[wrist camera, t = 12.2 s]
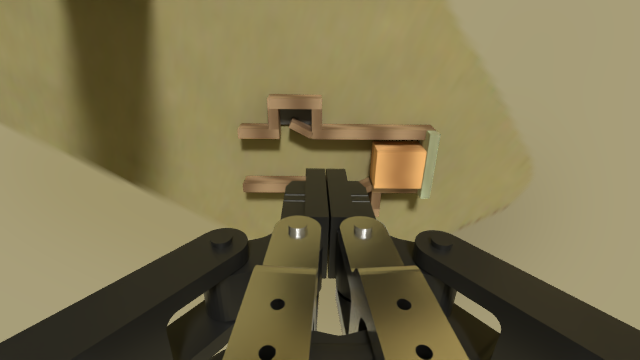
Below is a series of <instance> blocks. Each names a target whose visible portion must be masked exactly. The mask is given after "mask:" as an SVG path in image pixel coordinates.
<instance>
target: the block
mask: <svg viewBox="0 0 640 360" xmlns="http://www.w3.org/2000/svg"><path fill="white" fill-rule="evenodd" d="M426 154H427V151H426V150H425V149H424V148H423V147H422V146H421V144H420V143H419V142H406V141H373V143H372V155H371V167H370V178H371V181H372V184H373V186H374V188H395V189H421V185H422V179H423V173H424V167H425V161H426Z"/></svg>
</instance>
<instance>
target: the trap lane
mask: <svg viewBox="0 0 640 360" xmlns="http://www.w3.org/2000/svg"><path fill="white" fill-rule="evenodd" d="M267 106H268V124H251V123H242V124H241V125H240V126H239V128H238V129H237V130H238V139H279V138H280V135H281V124H289V128H291V129H292V130H294V131H296V132H298V133H300V134H302V135H304V136H306V137H308V138H311V137H312V139H358V140H419V141H418V142H419V143H420V144H421V146H422V147H423V148H424V149H425V150H426V151H427V154H426V161H425V167H424V173H423V179H422V185H421V189H395V188H374V186H373V184H372V181H371V178H370V179H369V177H368V178H365V179H363V180H361V181H359V182H360V183H361V184H362V185H363V186H364V187H366V190H367V193H368V196H369V199H370V202H371V205H372V209H373V212H374V215H375V217H379V208H380V198H381V193H417V194H418V196H419V197H420V199H430V193H431V187H432V181H433V176H434V170H435V164H436V158H437V153H438V147H439V141H440V135H441V134H440V133H439V132H437V131H436V130H435V129H434V128H433V127H432V126H431V125H377V124H322V95H287V94H270V95H269V96H268V98H267ZM310 125H312V126H310ZM291 181H306V176H246V178H245V180H244V183H243V190H244V192H285V188H286V186H287V185H288V184H289V183H290V182H291Z"/></svg>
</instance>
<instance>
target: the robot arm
mask: <svg viewBox="0 0 640 360" xmlns="http://www.w3.org/2000/svg"><path fill="white" fill-rule="evenodd" d="M327 266H328V278H336V303H337V309H338V314H339V319H340V324H341V330H342V336H337V335H332V334H327V333H322V332H318V331H317V317H318V302H319V291H320V290H321V282H322V278H326V273H327ZM457 291H458V292H460V293H461V294H463V295H464V296H466V297H467V298H469V299H471V300H472V301H474V302H476V303H477V304H479V305H480V306H482V307H483V308H485V309H487V310H488V311H490V312H491V313H493V315H495V317H496V318H497V319H498V321H499V322H500V325H501V333H498V332H497V331H495V330H494V329H492V328H490V327H489V326H488V325H486V324H485V323H483V322H482V321H480V320H479V319H477V318H475V317H474V316H473V315H471V314H469V313H468V312H466V311H465V310H464V309H462V308H461V307H459V306H458V305H456V304H455V303H454V300H455V296H456V292H457ZM203 293H204V297H205V300H204V301H203V302H201V303H200V304H198V305H197V306H195V307H194V308H193V309H191V310H190V311H188V312H187V313H185V314H184V315H183V316H181V317H180V318H178V319H177V320H176V321H174V322H173V323H171V324H170V325H169V326H167V324H168V322H169V320H170V318H171V317H172V316H173V315H174V314H175V313H176V312H177V311H178V310H180V309H181V308H183V307H184V306H186V305H187V304H189V303H190V302H191V301H193V300H194V299H196V298H197V297H198V296H200V295H201V294H203ZM227 343H228V345H227V348H226V349H225V350H223V351H221V352H220V353H218V354H216V353H217V352H218V351H219V350H221V349H222V348H223V347H224V346H225V345H226V344H227ZM215 354H216V355H215ZM214 355H215V356H214ZM212 356H213V357H212ZM0 360H640V330H638V329H636V328H634V327H632V326H630V325H628V324H626V323H624V322H622V321H620V320H618V319H616V318H614V317H612V316H610V315H608V314H606V313H605V312H602V311H601V310H598V309H597V308H595V307H593V306H591V305H589V304H587V303H585V302H583V301H581V300H579V299H577V298H575V297H573V296H571V295H569V294H567V293H565V292H563V291H561V290H560V289H558V288H556V287H554V286H552V285H550V284H548V283H546V282H544V281H542V280H540V279H538V278H536V277H534V276H532V275H530V274H528V273H526V272H524V271H522V270H520V269H518V268H516V267H514V266H513V265H510V264H509V263H507V262H505V261H502V260H501V259H499V258H497V257H495V256H493V255H491V254H489V253H487V252H485V251H483V250H481V249H479V248H477V247H475V246H473V245H471V244H469V243H468V242H466V241H463V240H462V239H460V238H458V237H456V236H454V235H452V234H449V233H446V232H442V231H435V230H429V231H424V232H421V233H419V234H418V235H417V236H416V239H415V242H411V241H406V240H401V239H397V238H395V237H392V236H390V235H389V233H388V231H387V229H386V227H385V226H384V225H383V223H381V222H380V221H378V220H376V218H375V215H374V212H373V209H372V205H371V202H370V199H369V196H368V193H367V190H366V187H364V186H363V185H362V184H361V183H360V182H358V181H347V176H346V172H345V169H326V175H325V169H308V168H306V181H291V182H290V183H289V184H288V185H287V186H286V188H285V195H284V201H283V208H282V214H281V220H280V221H278V222H277V223H276V225H275V227H274V230H273V233H272V234H270V235H268V236H266V237H263V238H259V239H254V240H249V241H248V239H247V236H246V234H245V233H244V232H242V231H240V230H237V229H233V228H221V229H216V230H213V231H210V232H208V233H206V234H204V235H202V236H200V237H198V238H197V239H194V240H193V241H191V242H189V243H187V244H185V245H183V246H181V247H179V248H177V249H176V250H174V251H172V252H170V253H168V254H166V255H164V256H162V257H161V258H159V259H157V260H155V261H153V262H152V263H149V264H147V265H146V266H144V267H142V268H140V269H138V270H136V271H134V272H132V273H131V274H129V275H127V276H125V277H123V278H121V279H119V280H117V281H116V282H114V283H112V284H110V285H108V286H106V287H105V288H102V289H101V290H99V291H97V292H95V293H93V294H91V295H89V296H87V297H86V298H84V299H82V300H80V301H78V302H76V303H74V304H72V305H71V306H69V307H67V308H65V309H63V310H61V311H59V312H57V313H56V314H54V315H52V316H50V317H48V318H46V319H44V320H42V321H41V322H39V323H37V324H35V325H33V326H31V327H29V328H27V329H26V330H24V331H22V332H20V333H18V334H16V335H14V336H13V337H11V338H9V339H7V340H5V341H3V342H1V343H0Z"/></svg>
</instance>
